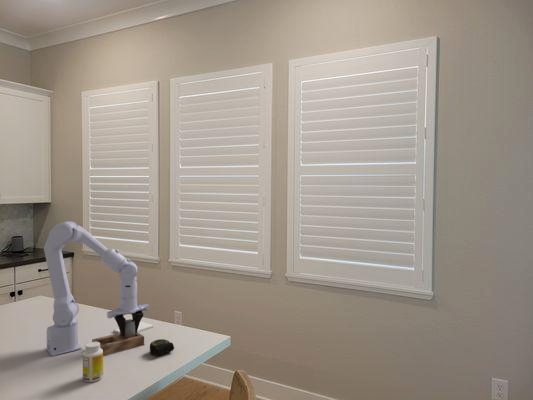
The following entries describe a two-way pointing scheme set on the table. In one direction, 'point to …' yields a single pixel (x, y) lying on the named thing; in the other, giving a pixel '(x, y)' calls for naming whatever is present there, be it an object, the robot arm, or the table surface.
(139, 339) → the box
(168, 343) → the tape measure
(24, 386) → the table surface
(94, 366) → the supplement bottle
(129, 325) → the plug
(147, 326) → the external hard drive
